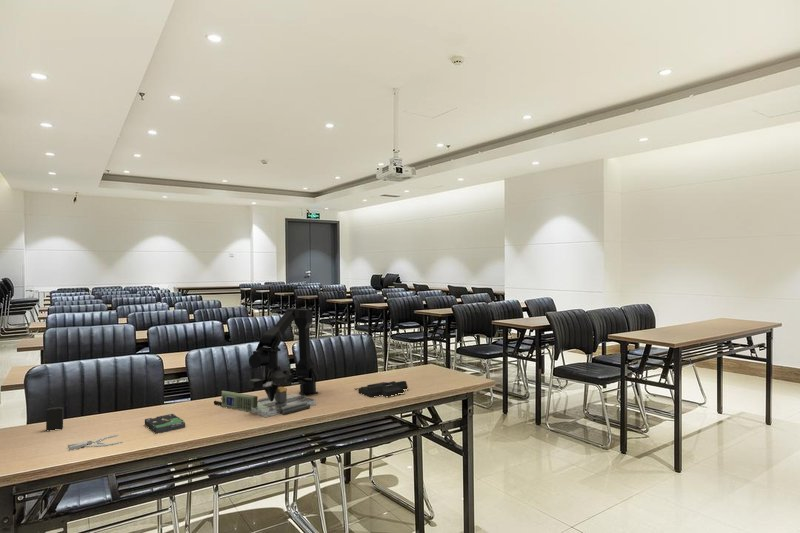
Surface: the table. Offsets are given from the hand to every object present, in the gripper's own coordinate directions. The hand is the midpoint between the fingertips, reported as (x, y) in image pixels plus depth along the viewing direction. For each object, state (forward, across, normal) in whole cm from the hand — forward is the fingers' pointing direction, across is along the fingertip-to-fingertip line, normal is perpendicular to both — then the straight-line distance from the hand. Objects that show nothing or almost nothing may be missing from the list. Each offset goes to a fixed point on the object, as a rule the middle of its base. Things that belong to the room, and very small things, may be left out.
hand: (271, 401), depth 202 cm
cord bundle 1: (+3, +5, -9) cm, 11 cm away
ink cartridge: (+3, -68, +38) cm, 78 cm away
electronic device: (+4, +52, -9) cm, 52 cm away
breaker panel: (+3, +4, 0) cm, 6 cm away
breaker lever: (+1, +4, 0) cm, 5 cm away
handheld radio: (+4, -9, +14) cm, 17 cm away
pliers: (+4, -62, +9) cm, 63 cm away
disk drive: (+4, -38, +11) cm, 40 cm away
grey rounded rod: (+3, +5, +9) cm, 11 cm away
